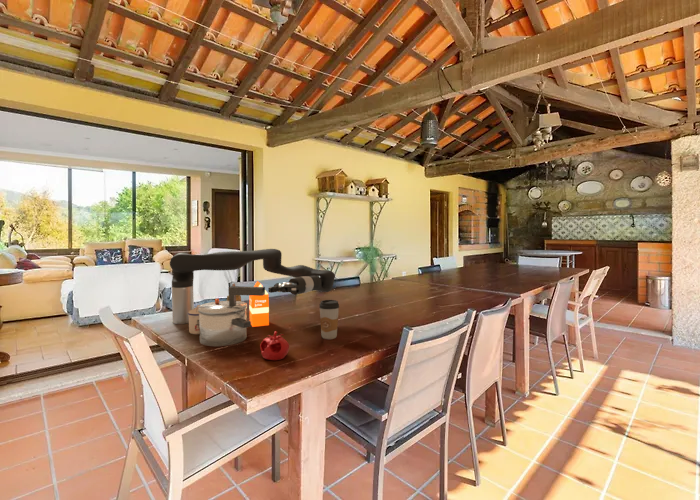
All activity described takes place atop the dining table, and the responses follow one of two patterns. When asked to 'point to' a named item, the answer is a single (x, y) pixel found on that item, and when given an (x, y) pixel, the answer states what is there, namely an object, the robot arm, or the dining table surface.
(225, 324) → the cooker pot
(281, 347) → the pomegranate
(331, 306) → the coffee cup
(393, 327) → the dining table surface
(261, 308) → the orange juice
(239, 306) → the cooker lid
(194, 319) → the teacup with lid
